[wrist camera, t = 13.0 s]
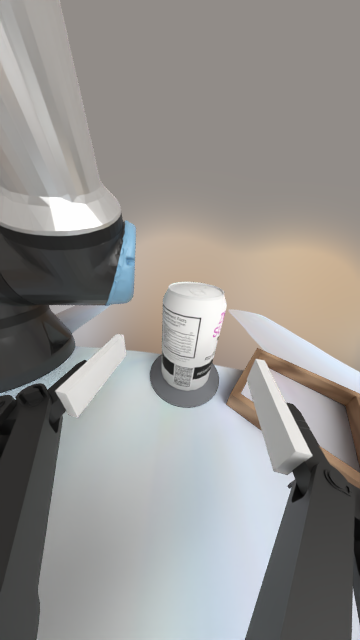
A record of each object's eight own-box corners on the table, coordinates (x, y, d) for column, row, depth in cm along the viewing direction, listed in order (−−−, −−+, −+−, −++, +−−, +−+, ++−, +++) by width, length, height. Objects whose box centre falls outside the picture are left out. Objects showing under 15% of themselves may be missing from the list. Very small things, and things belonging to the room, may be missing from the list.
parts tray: (226, 404, 20) (230, 393, 19) (253, 356, 30) (257, 347, 29) (668, 734, 7) (775, 768, 6) (460, 458, 17) (485, 448, 15)
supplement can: (159, 357, 27) (160, 279, 20) (199, 354, 29) (213, 281, 22) (163, 397, 20) (166, 299, 13) (215, 389, 22) (244, 299, 15)
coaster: (135, 373, 24) (135, 371, 24) (180, 343, 32) (181, 341, 32) (191, 428, 17) (191, 426, 17) (229, 372, 25) (230, 371, 25)
